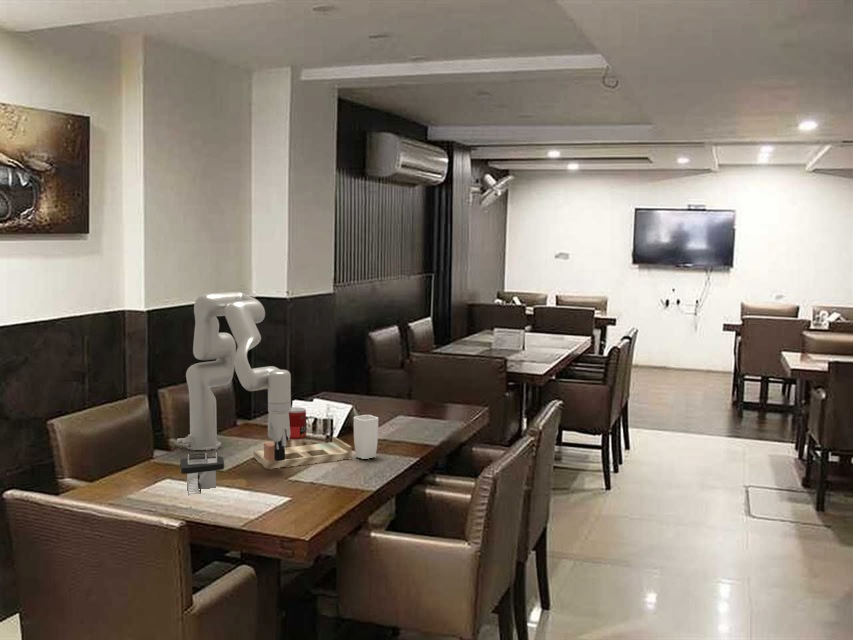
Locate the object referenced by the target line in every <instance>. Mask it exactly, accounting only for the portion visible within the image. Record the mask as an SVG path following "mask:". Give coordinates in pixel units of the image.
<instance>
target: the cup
mask: <svg viewBox="0 0 853 640" xmlns="http://www.w3.org/2000/svg"><path fill="white" fill-rule="evenodd" d="M378 442H379V417H378V416H374V415H372V414H362V415H357V416H353V444H354V451H355V457H356V458H357V457H358V458H357V459H359V458H361V459H360V460H362V459H368V460H370V459H369V458H373V457H375V458H377V457H376V456H377V449H378ZM373 459H374V458H373Z"/></svg>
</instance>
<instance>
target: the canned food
mask: <svg viewBox="0 0 853 640" xmlns="http://www.w3.org/2000/svg"><path fill="white" fill-rule="evenodd" d="M289 422H290V439H289V440H301V439H304V438H306V436H307V409H306V408H304V407H300V406H299V407H298V406H297V407H294V406H293V407H292V406H291V411H290V412H289Z"/></svg>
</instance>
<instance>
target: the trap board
mask: <svg viewBox="0 0 853 640" xmlns="http://www.w3.org/2000/svg"><path fill="white" fill-rule="evenodd" d="M331 439H332V440H331V442H330V441H329V442H323V443H315V444H305V445H297V446H289V447H285V460H282V461H276V460H271V461H268V460H267V459H266V458H264V449H263V450H254V451H253V452H252V454H253V457H254V458H255V459H256V460H257V461H258V462H257V461H256V460H255V459H254V458H253V457H252V458H253V459H254V460H255V461H256V462H257V463H259V462H260V463H261V464H262V465H263V466H262V465H261V464H260V463H259V464H260V465H261V466H262V467H263V468H265V467H266V468H267V469H270V470H273V469H272V468H278V469H281V468H280V467H286V468H291V467H290V466H294V467H299V466H298V465H301V466H307V465H308V464H309V465H316V464H315V463H317V464H323V462H325V463H331V462H330V461H333V462H338V461H337V460H341V461H343V460H342V459H349V458H352V457H353V452H352V451H353V450H352V449H353V446H351V445H350V444H348V443H346V442H344V441H343V440H341V439H340V438H338V437H336V436H332V437H331ZM349 460H350V459H349ZM309 465H308V466H309ZM266 468H265V469H266ZM267 469H266V470H267Z"/></svg>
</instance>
